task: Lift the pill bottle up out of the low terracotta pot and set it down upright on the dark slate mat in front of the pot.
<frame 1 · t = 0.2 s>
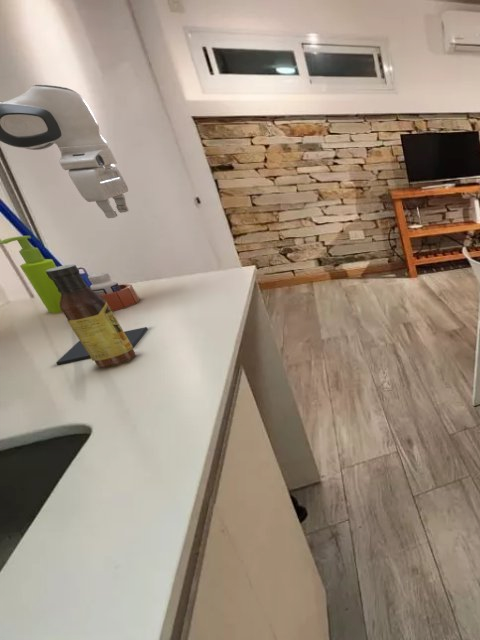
hand: (118, 214, 123), 23 cm above the worktop, tool pointing down, fingers open, 8 cm apart
sauce bottle: (117, 362, 96), on the worktop
soap dispenser: (62, 310, 128), on the worktop
mat: (105, 345, 103), on the worktop
pot: (115, 305, 128), on the worktop
pill bottle: (116, 306, 128), resting in pot
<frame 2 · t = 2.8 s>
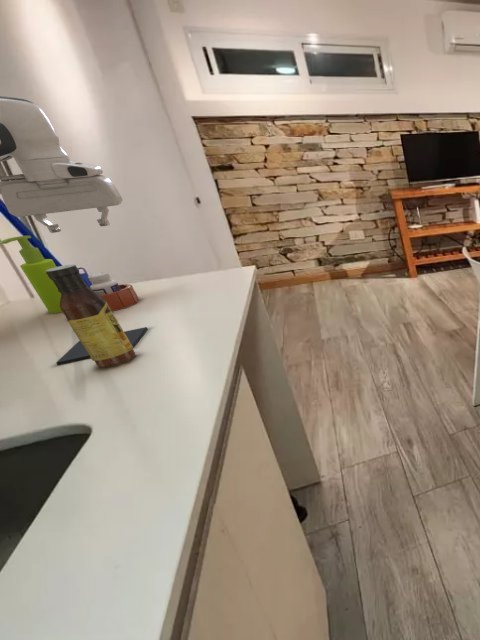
hand: (81, 228, 120), 21 cm above the worktop, tool pointing down, fingers open, 8 cm apart
nothing on the worktop moved.
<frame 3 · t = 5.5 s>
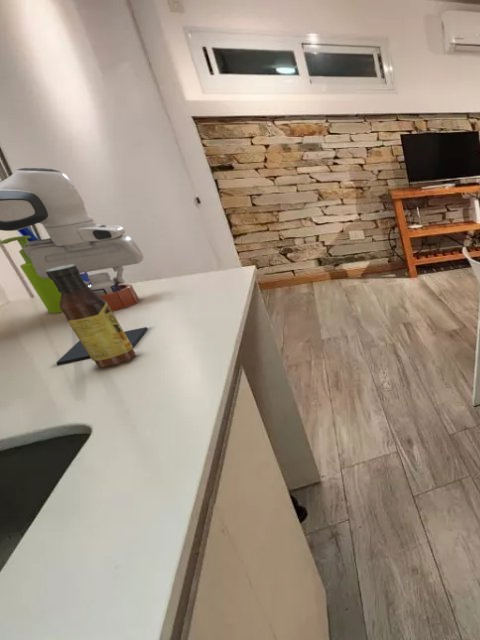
hand: (104, 286, 125), 6 cm above the worktop, tool pointing down, fingers closed on pill bottle, 5 cm apart
pill bottle: (116, 306, 128), resting in pot, touching gripper
everything else where it was.
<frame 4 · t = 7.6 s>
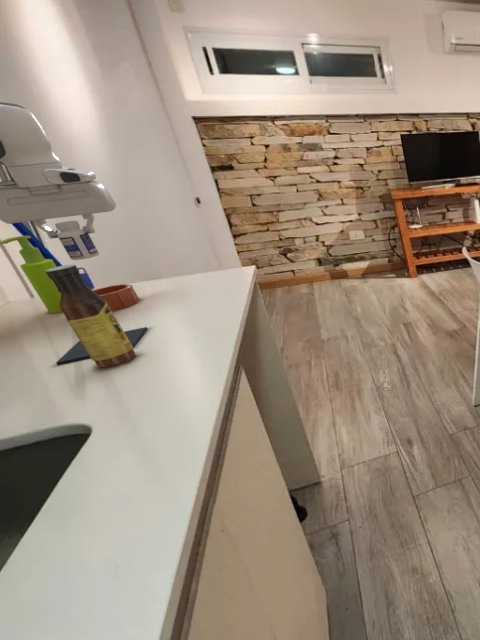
hand: (73, 235, 118), 20 cm above the worktop, tool pointing down, fingers closed on pill bottle, 5 cm apart
pill bottle: (86, 258, 120), point 14 cm above the worktop, touching gripper
everything else where it was.
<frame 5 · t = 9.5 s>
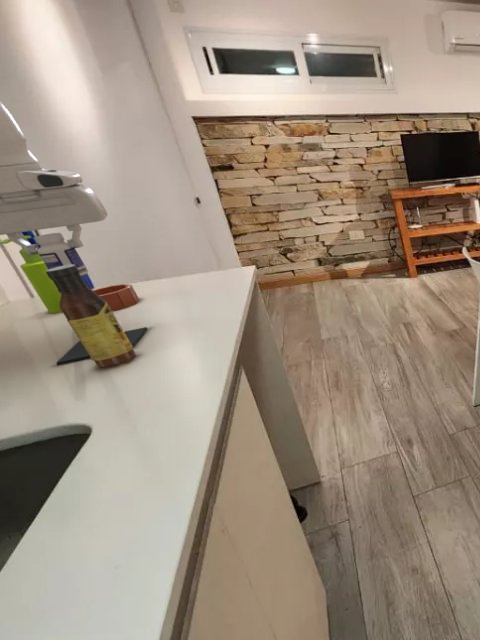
hand: (57, 250, 98), 21 cm above the worktop, tool pointing down, fingers closed on pill bottle, 5 cm apart
pill bottle: (72, 277, 101), point 15 cm above the worktop, touching gripper
everything else where it was.
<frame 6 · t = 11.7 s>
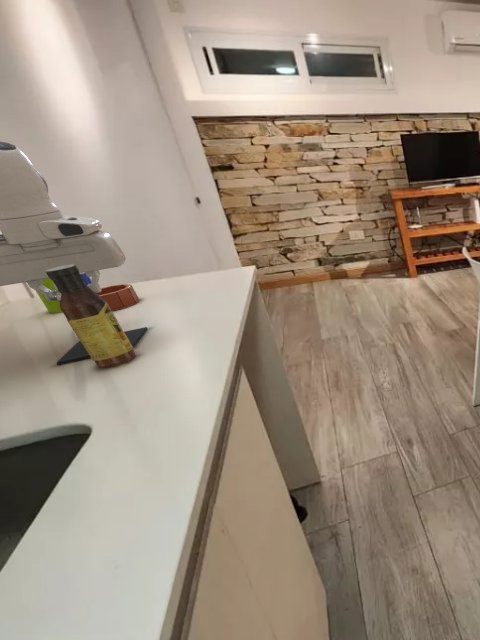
hand: (75, 295, 98), 12 cm above the worktop, tool pointing down, fingers closed on pill bottle, 5 cm apart
pill bottle: (90, 321, 101), point 6 cm above the worktop, touching gripper
everything else where it was.
when the fingers open (6 cm above the worktop, at t = 13.6 s): pill bottle stays where it is, resting on mat.
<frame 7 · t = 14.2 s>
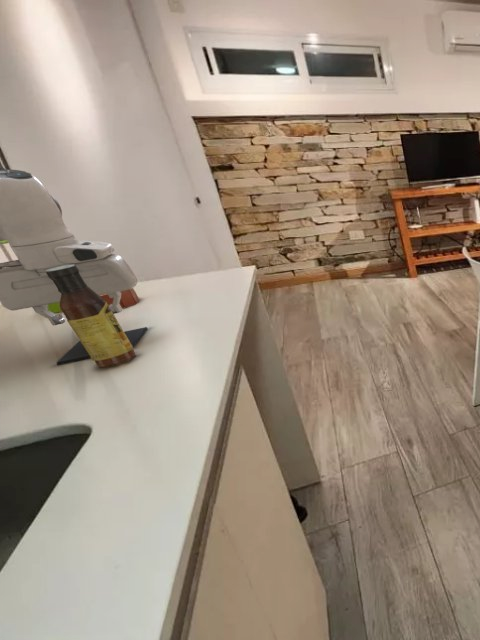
hand: (89, 317, 100), 7 cm above the worktop, tool pointing down, fingers open, 8 cm apart
pill bottle: (104, 344, 103), resting on mat
everything else where it was.
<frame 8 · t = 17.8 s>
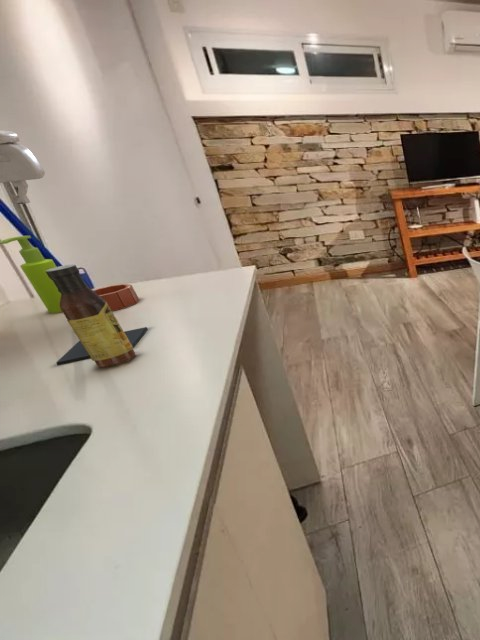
nothing on the worktop moved.
at the end: pill bottle inside the target area on the mat (0.1 cm from its centre), point 0.4 cm above the mat's base; pill bottle tilted 0° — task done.
